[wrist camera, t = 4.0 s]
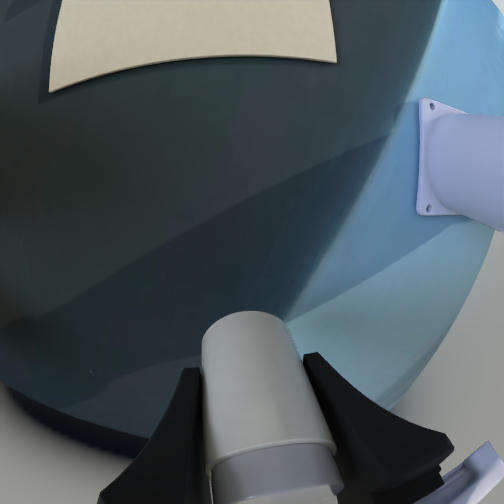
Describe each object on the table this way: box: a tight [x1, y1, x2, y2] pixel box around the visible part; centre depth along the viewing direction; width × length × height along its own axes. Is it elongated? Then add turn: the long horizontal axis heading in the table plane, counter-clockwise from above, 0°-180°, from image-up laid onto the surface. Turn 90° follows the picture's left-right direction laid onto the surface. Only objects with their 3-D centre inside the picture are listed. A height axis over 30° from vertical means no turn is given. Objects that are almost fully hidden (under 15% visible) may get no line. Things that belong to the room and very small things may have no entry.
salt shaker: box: [201, 311, 345, 504], centre depth 9 cm, size 4×4×8 cm
